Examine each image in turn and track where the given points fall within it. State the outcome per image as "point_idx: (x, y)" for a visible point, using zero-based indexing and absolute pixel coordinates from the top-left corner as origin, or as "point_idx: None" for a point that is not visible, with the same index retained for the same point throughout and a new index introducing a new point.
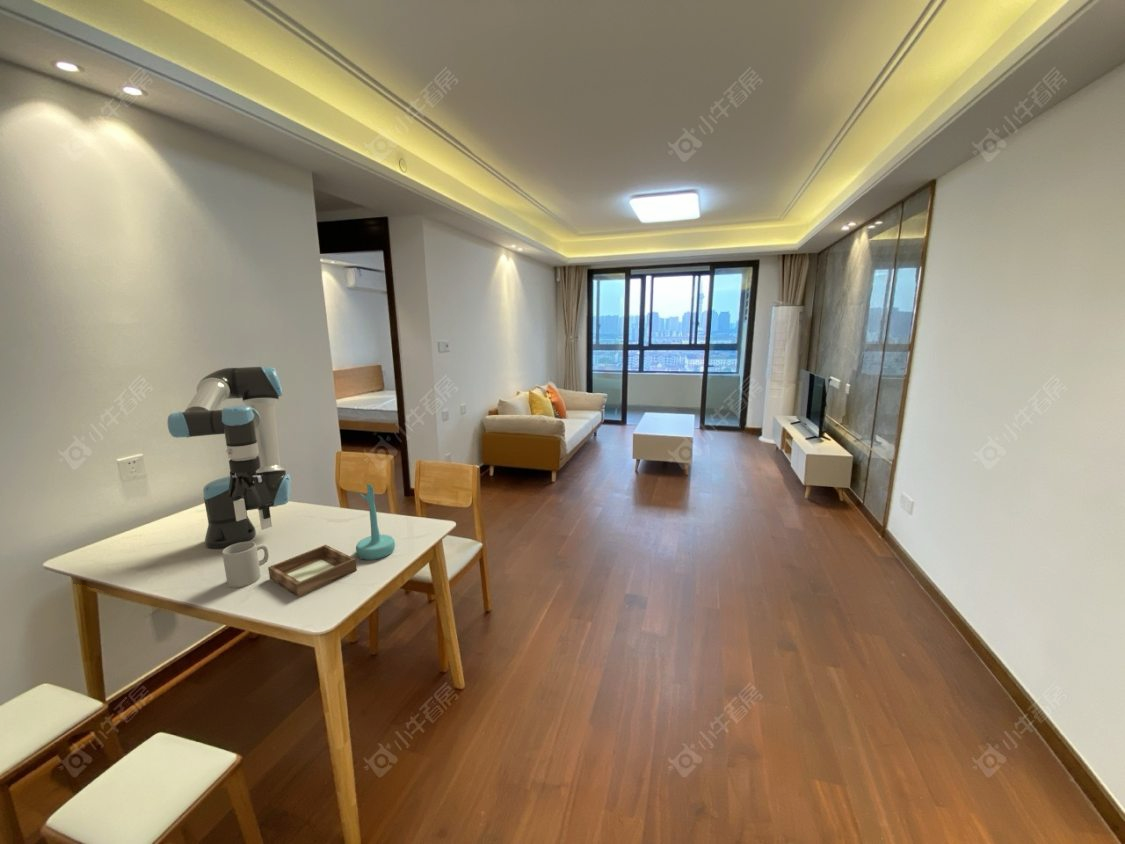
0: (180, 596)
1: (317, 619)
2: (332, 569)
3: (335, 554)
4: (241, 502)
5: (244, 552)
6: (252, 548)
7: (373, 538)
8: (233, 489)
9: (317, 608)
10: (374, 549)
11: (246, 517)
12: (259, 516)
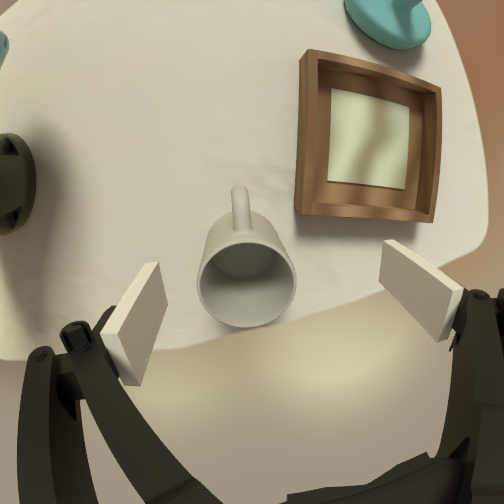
0: (200, 339)
1: (472, 236)
2: (441, 143)
3: (371, 73)
4: (130, 336)
5: (295, 288)
6: (291, 262)
7: (410, 8)
8: (76, 438)
9: (458, 219)
10: (427, 37)
11: (157, 264)
12: (412, 315)
